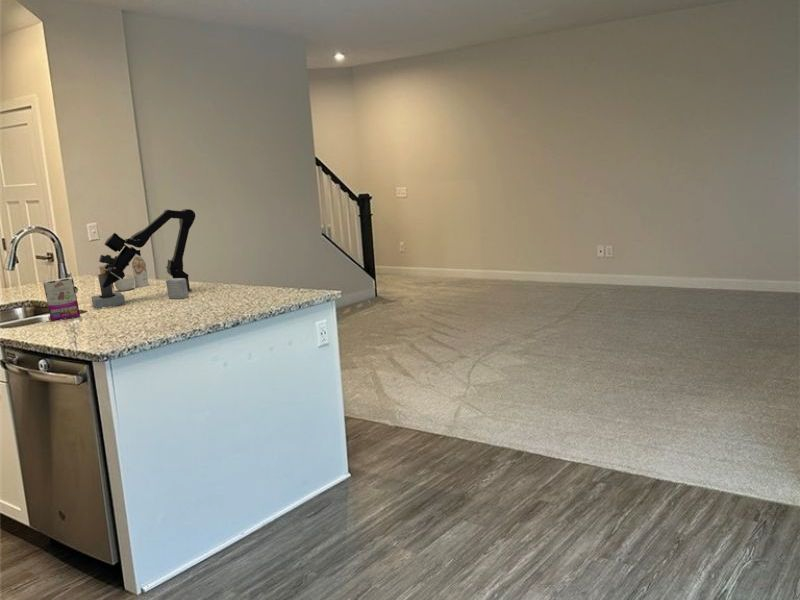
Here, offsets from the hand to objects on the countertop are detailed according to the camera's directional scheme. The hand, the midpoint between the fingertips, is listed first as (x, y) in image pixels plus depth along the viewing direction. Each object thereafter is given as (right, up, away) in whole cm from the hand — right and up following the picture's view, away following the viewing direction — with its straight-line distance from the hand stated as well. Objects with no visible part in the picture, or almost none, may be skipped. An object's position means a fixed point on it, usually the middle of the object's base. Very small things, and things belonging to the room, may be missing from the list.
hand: (102, 286), depth 307 cm
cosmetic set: (-5, -1, +40) cm, 41 cm away
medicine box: (+32, -5, +4) cm, 33 cm away
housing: (+2, -8, +2) cm, 9 cm away
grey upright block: (+2, -6, +2) cm, 7 cm away
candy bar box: (-7, -14, -20) cm, 25 cm away
